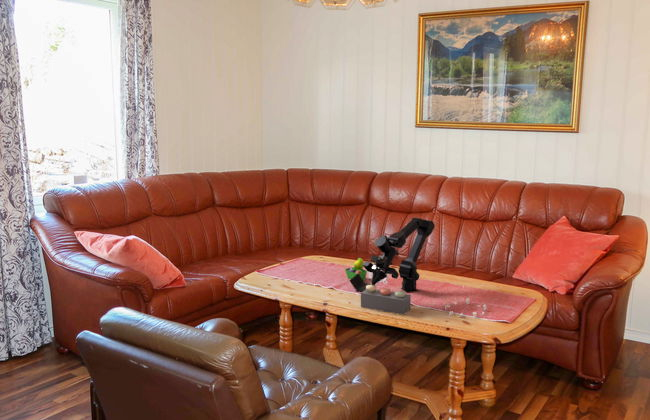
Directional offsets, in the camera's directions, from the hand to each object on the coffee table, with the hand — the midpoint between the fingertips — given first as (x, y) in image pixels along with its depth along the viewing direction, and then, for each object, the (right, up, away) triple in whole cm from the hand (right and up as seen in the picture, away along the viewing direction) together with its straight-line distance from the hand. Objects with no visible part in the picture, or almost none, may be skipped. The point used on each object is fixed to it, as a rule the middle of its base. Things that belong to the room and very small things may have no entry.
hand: (372, 284), depth 275 cm
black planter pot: (-3, -6, +26) cm, 27 cm away
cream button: (-1, -5, 0) cm, 5 cm away
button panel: (+6, -11, -3) cm, 12 cm away
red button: (+6, -6, -4) cm, 9 cm away
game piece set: (+42, -12, -8) cm, 44 cm away
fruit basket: (-5, -2, +42) cm, 43 cm away
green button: (+12, -7, -7) cm, 16 cm away
